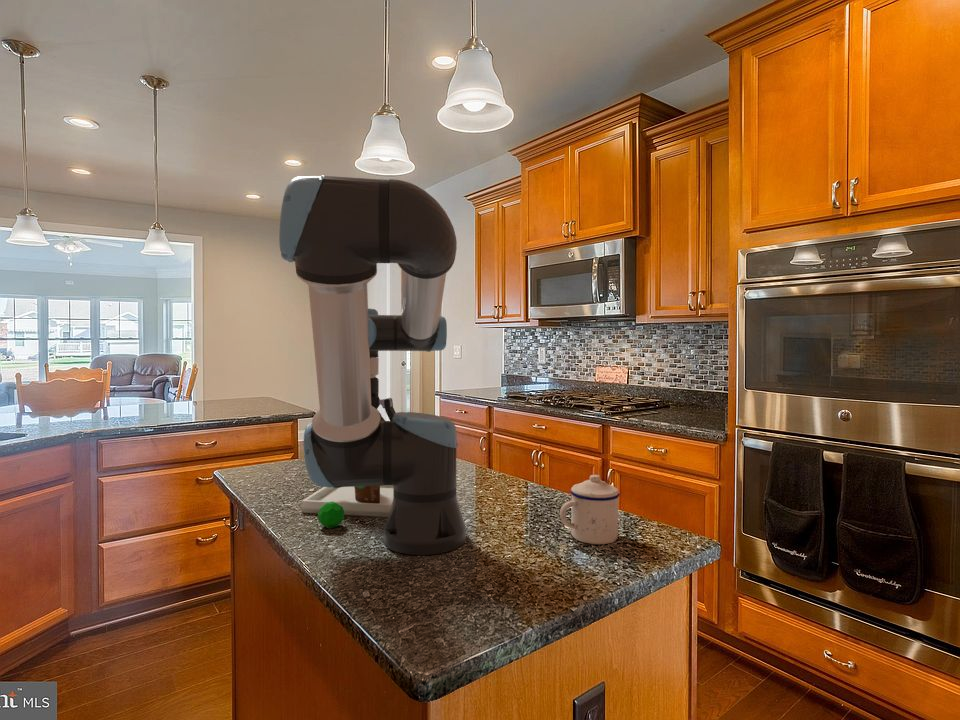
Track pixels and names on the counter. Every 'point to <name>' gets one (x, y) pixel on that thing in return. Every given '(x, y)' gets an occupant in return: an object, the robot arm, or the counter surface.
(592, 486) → the teacup with lid
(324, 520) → the polyhedron
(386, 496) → the tray
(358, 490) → the food container
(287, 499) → the counter surface
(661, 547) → the counter surface
